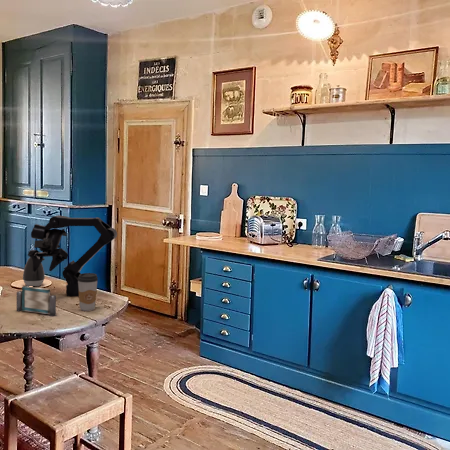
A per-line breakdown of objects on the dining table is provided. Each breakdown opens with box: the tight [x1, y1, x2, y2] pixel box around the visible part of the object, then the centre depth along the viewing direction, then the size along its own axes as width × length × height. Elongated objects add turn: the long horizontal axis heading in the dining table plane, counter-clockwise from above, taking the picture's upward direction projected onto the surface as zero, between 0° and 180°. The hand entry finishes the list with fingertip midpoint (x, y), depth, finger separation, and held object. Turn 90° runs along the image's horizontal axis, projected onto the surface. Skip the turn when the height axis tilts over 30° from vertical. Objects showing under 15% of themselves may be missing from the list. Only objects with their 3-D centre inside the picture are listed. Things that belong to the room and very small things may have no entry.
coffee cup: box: [78, 272, 99, 312], centre depth 202 cm, size 8×8×15 cm
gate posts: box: [16, 290, 57, 317], centre depth 194 cm, size 18×2×8 cm, turn 76°
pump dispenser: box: [22, 257, 46, 287], centre depth 236 cm, size 10×10×15 cm
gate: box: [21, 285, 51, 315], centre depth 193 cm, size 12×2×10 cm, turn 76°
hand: (41, 271), depth 211 cm, fingers open, 9 cm apart
